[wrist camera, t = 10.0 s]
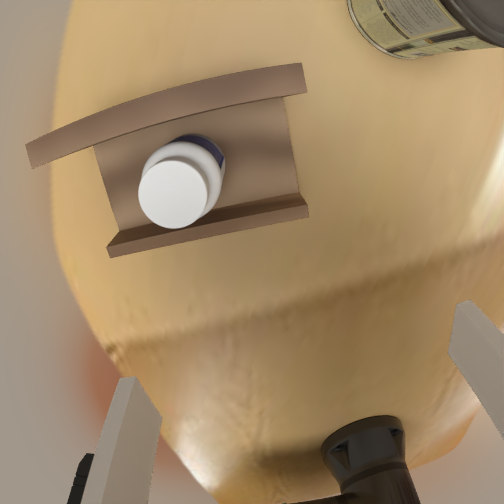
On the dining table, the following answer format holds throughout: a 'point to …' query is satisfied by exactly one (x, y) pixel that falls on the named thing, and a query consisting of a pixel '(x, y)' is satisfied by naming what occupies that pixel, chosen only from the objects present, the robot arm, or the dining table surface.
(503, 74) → the dining table surface
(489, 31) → the coffee can
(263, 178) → the wooden display stand
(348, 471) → the robot arm
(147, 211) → the pill bottle
